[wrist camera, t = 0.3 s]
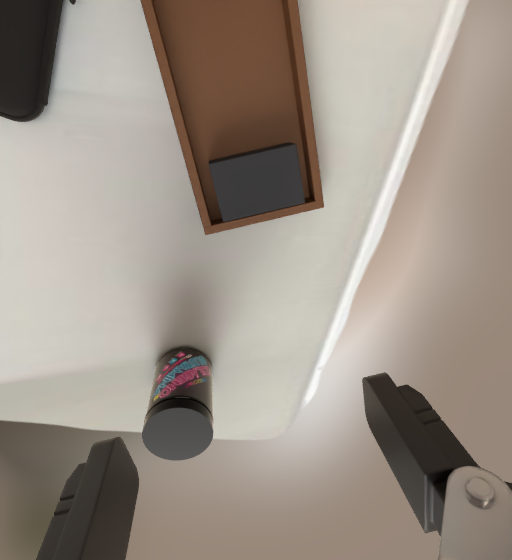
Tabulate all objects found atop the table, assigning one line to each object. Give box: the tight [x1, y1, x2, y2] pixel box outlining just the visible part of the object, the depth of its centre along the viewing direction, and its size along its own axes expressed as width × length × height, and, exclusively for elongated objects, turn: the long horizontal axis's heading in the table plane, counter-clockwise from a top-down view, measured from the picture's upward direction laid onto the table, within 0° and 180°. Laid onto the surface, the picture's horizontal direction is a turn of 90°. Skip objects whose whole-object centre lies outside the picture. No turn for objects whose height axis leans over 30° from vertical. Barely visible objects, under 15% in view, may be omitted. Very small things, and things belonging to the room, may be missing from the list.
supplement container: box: [142, 348, 213, 460], centre depth 40 cm, size 7×7×10 cm
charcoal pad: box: [209, 142, 305, 222], centre depth 35 cm, size 5×8×3 cm
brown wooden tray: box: [141, 0, 324, 235], centre depth 33 cm, size 21×12×3 cm, turn 12°
